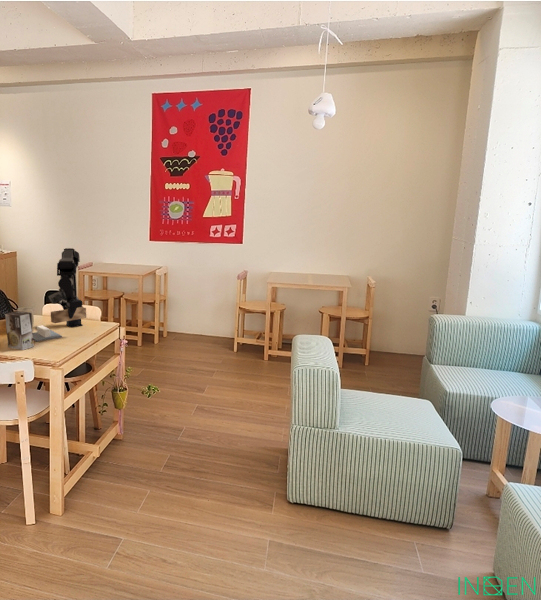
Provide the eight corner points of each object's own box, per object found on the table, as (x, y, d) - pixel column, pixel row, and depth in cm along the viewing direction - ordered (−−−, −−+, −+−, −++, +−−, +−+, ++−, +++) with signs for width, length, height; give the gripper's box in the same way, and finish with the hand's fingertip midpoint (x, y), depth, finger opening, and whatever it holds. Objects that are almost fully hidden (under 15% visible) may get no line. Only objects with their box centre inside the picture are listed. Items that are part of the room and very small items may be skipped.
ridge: (50, 331, 229) (50, 323, 228) (61, 337, 219) (61, 328, 219) (25, 335, 220) (25, 326, 219) (36, 341, 211) (35, 332, 210)
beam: (82, 316, 223) (82, 306, 222) (86, 317, 221) (86, 308, 220) (51, 321, 210) (50, 311, 209) (54, 323, 208) (54, 313, 207)
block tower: (30, 335, 224) (34, 320, 250) (29, 319, 222) (33, 305, 248) (13, 336, 221) (18, 321, 247) (11, 320, 219) (17, 306, 245)
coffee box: (34, 346, 204) (32, 312, 201) (22, 350, 198) (20, 315, 195) (19, 343, 207) (16, 310, 204) (7, 347, 201) (4, 313, 198)
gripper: (42, 285, 213) (44, 316, 216) (58, 290, 200) (60, 324, 203) (65, 283, 221) (67, 313, 224) (82, 288, 208) (83, 320, 211)
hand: (69, 317), depth 215 cm, fingers closed on beam, 4 cm apart
